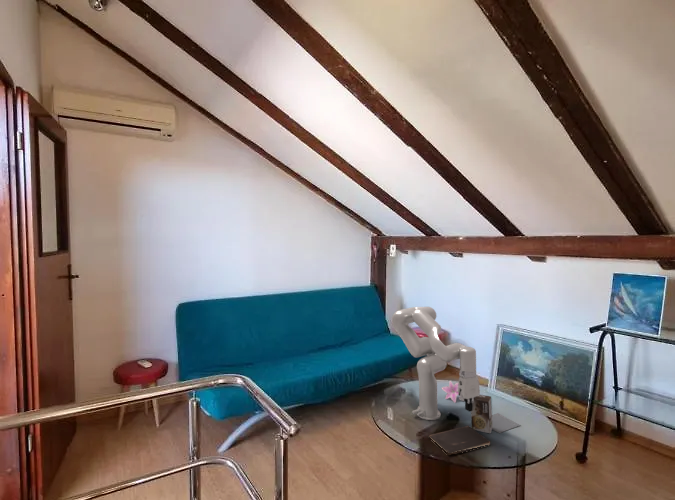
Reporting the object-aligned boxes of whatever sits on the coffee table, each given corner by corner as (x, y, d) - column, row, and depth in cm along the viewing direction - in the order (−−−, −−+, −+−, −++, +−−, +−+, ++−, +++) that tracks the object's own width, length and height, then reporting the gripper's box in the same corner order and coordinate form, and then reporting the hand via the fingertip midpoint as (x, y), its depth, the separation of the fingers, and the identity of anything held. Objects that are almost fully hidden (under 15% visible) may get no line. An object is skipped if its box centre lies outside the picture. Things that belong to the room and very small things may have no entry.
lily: (440, 395, 229) (437, 385, 224) (456, 386, 231) (453, 375, 227) (452, 410, 218) (449, 399, 214) (469, 399, 221) (466, 389, 216)
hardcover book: (490, 446, 175) (490, 441, 174) (448, 457, 167) (448, 452, 167) (467, 429, 190) (467, 425, 189) (428, 439, 182) (428, 434, 182)
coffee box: (492, 427, 189) (491, 396, 188) (490, 434, 184) (489, 402, 182) (474, 423, 194) (472, 392, 193) (471, 429, 188) (469, 398, 187)
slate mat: (499, 433, 184) (499, 432, 184) (477, 420, 197) (477, 419, 197) (520, 425, 191) (520, 425, 191) (497, 413, 203) (497, 413, 203)
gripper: (462, 378, 176) (462, 417, 177) (485, 372, 183) (486, 409, 184) (450, 373, 183) (451, 410, 184) (473, 367, 190) (474, 403, 190)
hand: (468, 410), depth 184 cm, fingers closed
